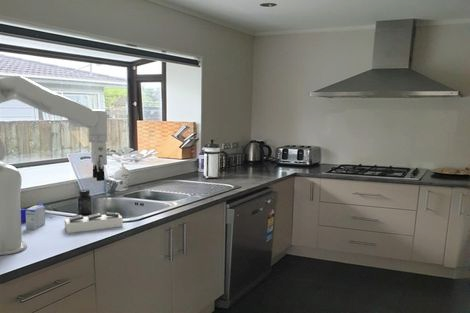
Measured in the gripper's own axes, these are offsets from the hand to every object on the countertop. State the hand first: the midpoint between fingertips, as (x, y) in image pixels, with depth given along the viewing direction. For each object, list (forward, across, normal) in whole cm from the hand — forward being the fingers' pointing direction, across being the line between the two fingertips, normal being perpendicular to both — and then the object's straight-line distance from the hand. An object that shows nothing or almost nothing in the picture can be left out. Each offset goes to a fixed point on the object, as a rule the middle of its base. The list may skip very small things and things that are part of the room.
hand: (98, 178), depth 171 cm
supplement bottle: (+22, +25, +2) cm, 33 cm away
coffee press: (+22, +92, -103) cm, 139 cm away
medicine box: (+22, +13, +24) cm, 35 cm away
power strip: (+22, +2, +2) cm, 22 cm away
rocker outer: (+17, 0, -6) cm, 18 cm away
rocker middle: (+17, 0, +2) cm, 17 cm away
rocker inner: (+17, 0, +10) cm, 19 cm away
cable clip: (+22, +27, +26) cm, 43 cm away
